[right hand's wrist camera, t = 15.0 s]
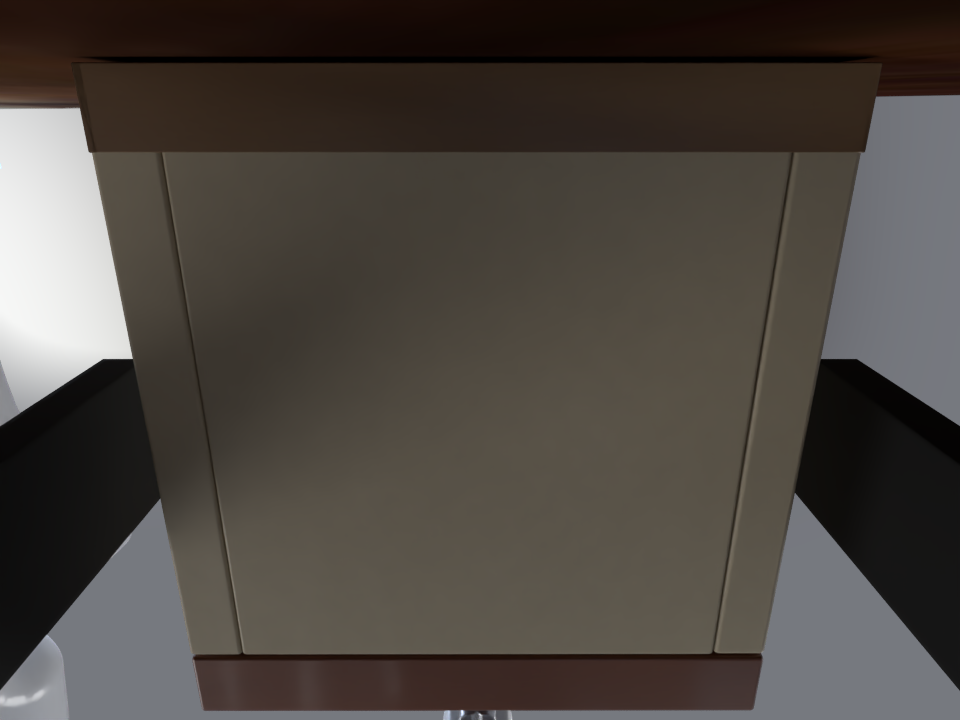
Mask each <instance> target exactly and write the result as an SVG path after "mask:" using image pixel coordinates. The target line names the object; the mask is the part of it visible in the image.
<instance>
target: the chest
mask: <svg viewBox="0 0 960 720" xmlns="http://www.w3.org/2000/svg"><path fill="white" fill-rule="evenodd" d="M71 65H72V70H73V75H74V80H75V85H76V91H77V96H78V101H79V106H80V111H81V115H82V120H83V126H84V131H85V136H86V141H87V146H88V151H89V152H90V153H92V155H93V160H94V165H95V170H96V175H97V180H98V185H99V190H100V195H101V200H102V205H103V210H104V215H105V220H106V225H107V230H108V235H109V240H110V245H111V251H112V256H113V261H114V266H115V271H116V276H117V281H118V286H119V291H120V296H121V301H122V306H123V311H124V316H125V321H126V326H127V331H128V336H129V341H130V346H131V352H132V357H133V362H134V367H135V372H136V377H137V382H138V387H139V392H140V397H141V402H142V407H143V412H144V417H145V422H146V427H147V432H148V437H149V443H150V448H151V453H152V458H153V463H154V468H155V473H156V478H157V483H158V488H159V493H160V498H161V503H162V508H163V513H164V518H165V523H166V528H167V533H168V539H169V544H170V549H171V554H172V559H173V564H174V569H175V574H176V579H177V584H178V589H179V594H180V599H181V604H182V609H183V614H184V619H185V624H186V629H187V634H188V640H189V645H190V650H191V653H192V654H241V653H242V651H243V653H244V654H710V653H712V651H713V650H714V651H715V652H717V653H761V652H763V651H764V648H765V643H766V638H767V633H768V627H769V622H770V617H771V612H772V607H773V602H774V597H775V591H776V586H777V581H778V576H779V571H780V566H781V560H782V555H783V550H784V545H785V540H786V535H787V530H788V525H789V519H790V514H791V509H792V504H793V499H794V494H795V489H796V483H797V478H798V473H799V468H800V463H801V458H802V452H803V447H804V442H805V437H806V432H807V427H808V422H809V416H810V411H811V406H812V401H813V396H814V391H815V386H816V380H817V375H818V370H819V365H820V360H821V355H822V350H823V344H824V339H825V334H826V329H827V324H828V318H829V313H830V308H831V303H832V298H833V293H834V288H835V283H836V277H837V272H838V267H839V262H840V257H841V252H842V247H843V241H844V236H845V231H846V226H847V221H848V215H849V210H850V205H851V200H852V195H853V190H854V185H855V180H856V174H857V169H858V164H859V159H860V154H861V153H863V152H865V149H866V144H867V139H868V134H869V129H870V124H871V119H872V113H873V108H874V103H875V98H876V93H877V88H878V83H879V78H880V73H881V68H882V63H881V62H72V63H71Z"/></svg>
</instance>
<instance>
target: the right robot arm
mask: <svg viewBox="0 0 960 720" xmlns="http://www.w3.org/2000/svg"><path fill="white" fill-rule="evenodd" d="M795 493H796V494H797V496H798V497H799V498H800V499H801V500H802V502H803V503H804V504H805V505H806V506H807V508H808V509H809V510H810V511H811V512H812V514H813V515H814V516H815V517H816V518H817V520H818V521H819V522H820V523H821V524H822V526H823V527H824V528H825V529H826V530H827V532H828V533H829V534H830V535H831V536H832V538H833V539H834V540H835V541H836V542H837V544H838V545H839V546H840V547H841V548H842V550H843V551H844V552H845V553H846V554H847V556H848V557H849V558H850V559H851V560H852V562H853V563H854V564H855V565H856V566H857V568H858V569H859V570H860V571H861V572H862V574H863V575H864V576H865V577H866V578H867V580H868V581H869V582H870V583H871V585H872V586H873V587H874V588H875V589H876V591H877V592H878V593H879V594H880V595H881V597H882V598H883V599H884V600H885V601H886V603H887V604H888V605H889V606H890V607H891V609H892V610H893V611H894V612H895V613H896V614H897V616H898V617H899V618H900V619H901V621H902V622H903V623H904V624H905V625H906V627H907V628H908V629H909V630H910V631H911V633H912V634H913V635H914V636H915V637H916V639H917V640H918V641H919V642H920V643H921V645H922V646H923V647H924V648H925V649H926V651H927V652H928V653H929V654H930V655H931V657H932V658H933V659H934V660H935V661H936V663H937V664H938V665H939V666H940V667H941V669H942V670H943V671H944V672H945V673H946V674H947V676H948V677H949V678H950V679H951V681H952V682H953V683H954V684H955V685H956V687H957V688H958V689H959V690H960V426H959V425H957V424H956V423H954V422H953V421H951V420H950V419H948V418H947V417H945V416H943V415H942V414H940V413H939V412H937V411H936V410H934V409H933V408H931V407H930V406H928V405H926V404H925V403H923V402H922V401H920V400H919V399H917V398H916V397H914V396H913V395H911V394H910V393H908V392H907V391H905V390H903V389H902V388H900V387H899V386H897V385H896V384H894V383H893V382H891V381H890V380H888V379H887V378H885V377H883V376H882V375H880V374H879V373H877V372H876V371H874V370H873V369H871V368H870V367H868V366H867V365H865V364H863V363H862V362H860V361H859V360H857V359H821V360H820V365H819V370H818V375H817V380H816V386H815V391H814V396H813V401H812V406H811V411H810V416H809V422H808V427H807V432H806V437H805V442H804V447H803V452H802V458H801V463H800V468H799V473H798V478H797V483H796V489H795ZM159 499H160V493H159V488H158V483H157V478H156V473H155V468H154V463H153V458H152V453H151V448H150V443H149V437H148V432H147V427H146V422H145V417H144V412H143V407H142V402H141V397H140V392H139V387H138V382H137V377H136V372H135V367H134V362H133V359H103V360H101V361H100V362H98V363H97V364H95V365H93V366H92V367H90V368H89V369H87V370H86V371H84V372H83V373H81V374H80V375H78V376H77V377H75V378H73V379H72V380H70V381H69V382H67V383H66V384H64V385H63V386H61V387H60V388H58V389H57V390H55V391H54V392H52V393H50V394H49V395H47V396H46V397H44V398H43V399H41V400H40V401H38V402H37V403H35V404H33V405H32V406H30V407H29V408H27V409H26V410H24V411H23V412H21V413H20V414H18V415H17V416H15V417H13V418H12V419H10V420H9V421H7V422H6V423H4V424H3V425H1V426H0V690H1V689H2V688H3V687H4V685H5V684H6V683H7V682H8V681H9V679H10V678H11V677H12V676H13V675H14V673H15V672H16V671H17V670H18V669H19V667H20V666H21V665H22V664H23V663H24V661H25V660H26V659H27V658H28V657H29V655H30V654H31V653H32V652H33V651H34V649H35V648H36V647H37V646H38V645H39V643H40V642H41V641H42V640H43V639H44V637H45V636H46V635H47V634H48V633H49V631H50V630H51V629H52V628H53V627H54V625H55V624H56V623H57V622H58V621H59V619H60V618H61V617H62V616H63V615H64V613H65V612H66V611H67V610H68V609H69V607H70V606H71V605H72V604H73V603H74V601H75V600H76V599H77V598H78V597H79V595H80V594H81V593H82V592H83V591H84V589H85V588H86V587H87V586H88V585H89V583H90V582H91V581H92V580H93V579H94V577H95V576H96V575H97V574H98V573H99V571H100V570H101V569H102V568H103V567H104V565H105V564H106V563H107V562H108V560H109V559H110V558H111V557H112V556H113V554H114V553H115V552H116V551H117V550H118V548H119V547H120V546H121V545H122V544H123V542H124V541H125V540H126V539H127V538H128V536H129V535H130V534H131V533H132V532H133V530H134V529H135V528H136V527H137V526H138V524H139V523H140V522H141V521H142V520H143V518H144V517H145V516H146V515H147V514H148V512H149V511H150V510H151V509H152V508H153V506H154V505H155V504H156V503H157V502H158V500H159Z"/></svg>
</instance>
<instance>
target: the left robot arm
mask: <svg viewBox="0 0 960 720" xmlns="http://www.w3.org/2000/svg"><path fill="white" fill-rule="evenodd" d="M0 168H1V166H0ZM18 414H20V412H19V410H18V408H17V406H16V404H15V401H14V398H13V396H12V393H11V391H10V388H9V385H8V383H7V380H6V377H5V374H4V371H3V368H2V365H1V362H0V426H1V425H3V424H4V423H6V422H7V421H9V420H10V419H12V418H13V417H15V416H17V415H18ZM131 534H132V533H131ZM131 534H130V535H129V536H128V538H127V539H126V540H125V541H124V542H123V544H122V545H121V546H120V547H119V548H118V550H117V551H116V552H115V553H114V554H113V556H114V555H115V554H116V553H117V552H118V551H119V550H120V549H121V548H122V547H123V546H124V545H125V544H126V543H127V542H128V541H129V539H130V537H131ZM113 556H112V557H113ZM112 557H111V558H112ZM111 558H110V559H111ZM110 559H109V560H110ZM109 560H108V561H109ZM0 720H69V709H68V700H67V691H66V682H65V673H64V664H63V657H62V654H61V652H60V650H59V648H58V646H57V645H56V644H55V642H54V641H53V640H52V639H51V638H50V637H49V636H48V635H46V636H45V637H44V639H43V640H42V641H41V642H40V643H39V645H38V646H37V647H36V648H35V649H34V651H33V652H32V653H31V654H30V655H29V657H28V658H27V659H26V660H25V661H24V663H23V664H22V665H21V666H20V667H19V669H18V670H17V671H16V672H15V673H14V675H13V676H12V677H11V678H10V679H9V681H8V682H7V683H6V684H5V685H4V687H3V688H2V689H1V690H0ZM443 720H512V714H511V710H504V711H445V712H444V717H443Z"/></svg>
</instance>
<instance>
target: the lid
mask: <svg viewBox="0 0 960 720" xmlns="http://www.w3.org/2000/svg"><path fill="white" fill-rule="evenodd" d="M762 662H763V657H762V655H761V653H717V652H715V651H714V650H713V651H712V653H710V654H244V653H243V651H242V653H241V654H194V656H193V665H194V670H195V675H196V680H197V686H198V691H199V696H200V701H201V706H202V709H203V710H204V711H504V710H752V709H753V708H754V703H755V698H756V693H757V688H758V683H759V678H760V672H761V667H762Z"/></svg>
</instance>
